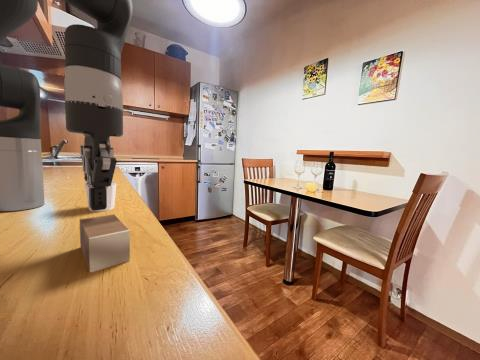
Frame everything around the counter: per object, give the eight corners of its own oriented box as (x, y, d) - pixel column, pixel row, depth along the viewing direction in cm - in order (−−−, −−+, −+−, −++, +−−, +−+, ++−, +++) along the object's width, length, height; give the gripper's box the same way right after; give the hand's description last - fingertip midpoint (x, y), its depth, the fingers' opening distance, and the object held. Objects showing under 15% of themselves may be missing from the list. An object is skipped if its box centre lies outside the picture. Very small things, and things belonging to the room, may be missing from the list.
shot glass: (101, 213, 50) (100, 186, 49) (78, 210, 52) (78, 183, 51) (122, 206, 57) (122, 182, 56) (102, 203, 58) (101, 180, 57)
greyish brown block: (79, 219, 33) (89, 238, 27) (114, 214, 37) (129, 230, 31) (80, 247, 34) (90, 272, 28) (114, 239, 38) (129, 260, 31)
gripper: (59, 103, 34) (64, 203, 36) (71, 92, 25) (76, 225, 27) (111, 112, 39) (112, 198, 42) (135, 105, 30) (135, 215, 33)
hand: (98, 208), depth 34 cm, fingers closed
